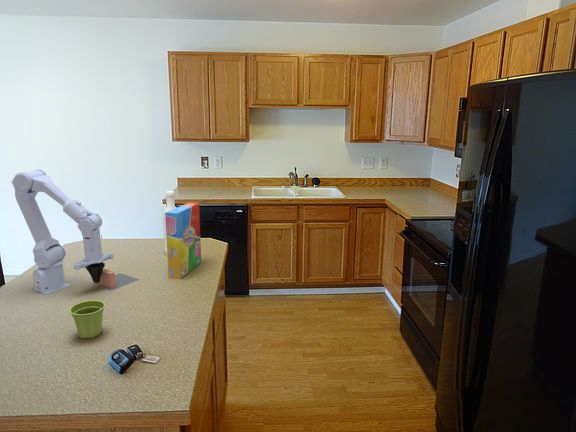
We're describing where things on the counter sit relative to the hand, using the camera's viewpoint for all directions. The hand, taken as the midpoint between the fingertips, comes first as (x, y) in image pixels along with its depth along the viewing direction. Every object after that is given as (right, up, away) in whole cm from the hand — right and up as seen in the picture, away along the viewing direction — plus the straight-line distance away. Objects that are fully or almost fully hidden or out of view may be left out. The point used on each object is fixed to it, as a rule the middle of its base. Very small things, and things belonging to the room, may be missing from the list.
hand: (96, 282), depth 149 cm
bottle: (+17, +7, +41) cm, 45 cm away
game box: (+28, +2, +21) cm, 35 cm away
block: (+2, -2, +4) cm, 5 cm away
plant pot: (+13, -11, -30) cm, 34 cm away
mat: (+4, -1, +7) cm, 9 cm away
